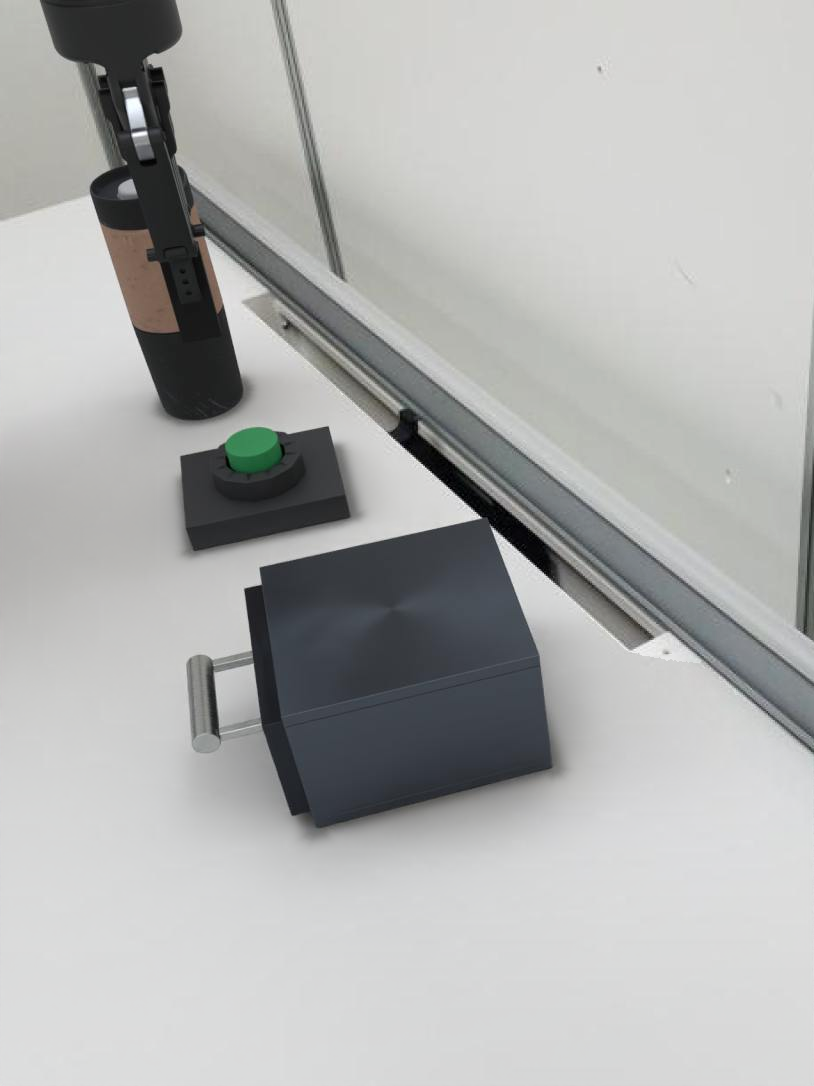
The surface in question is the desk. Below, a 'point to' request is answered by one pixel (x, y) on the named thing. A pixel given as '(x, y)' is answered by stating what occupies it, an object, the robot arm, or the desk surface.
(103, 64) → the robot arm
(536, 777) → the desk surface
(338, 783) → the cabinet
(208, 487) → the panel
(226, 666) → the drawer
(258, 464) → the button
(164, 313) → the travel mug
